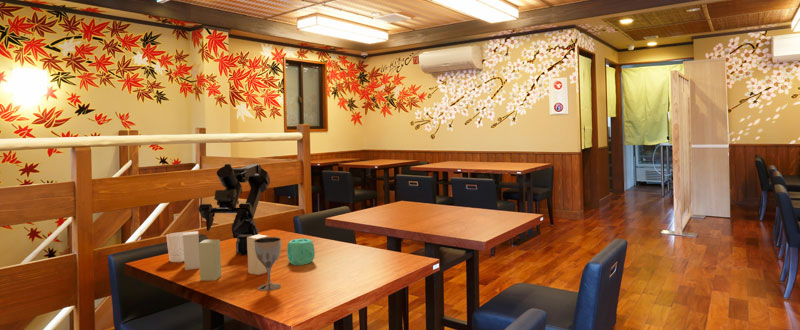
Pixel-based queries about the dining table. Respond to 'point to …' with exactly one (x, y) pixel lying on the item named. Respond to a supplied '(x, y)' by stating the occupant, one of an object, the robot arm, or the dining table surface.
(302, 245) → the decorative dice
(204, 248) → the sage block
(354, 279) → the dining table surface
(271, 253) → the wine glass
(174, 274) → the dining table surface
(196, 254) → the pale pink tall block
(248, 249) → the cream block
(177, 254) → the white cup
